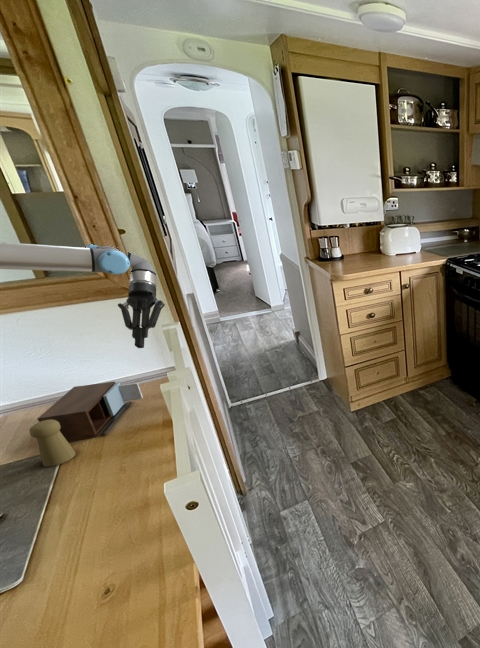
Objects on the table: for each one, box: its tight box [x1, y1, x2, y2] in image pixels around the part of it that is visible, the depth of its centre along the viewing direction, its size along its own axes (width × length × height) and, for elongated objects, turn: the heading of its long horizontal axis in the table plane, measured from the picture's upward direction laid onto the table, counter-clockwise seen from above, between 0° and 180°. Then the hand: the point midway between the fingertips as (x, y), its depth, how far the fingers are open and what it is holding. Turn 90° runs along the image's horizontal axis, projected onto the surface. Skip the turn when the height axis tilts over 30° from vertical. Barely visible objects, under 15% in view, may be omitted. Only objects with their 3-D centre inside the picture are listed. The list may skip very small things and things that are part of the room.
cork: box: [29, 420, 76, 468], centre depth 95 cm, size 6×6×11 cm
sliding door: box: [103, 381, 144, 417], centre depth 117 cm, size 6×9×7 cm, turn 21°
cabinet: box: [37, 381, 132, 443], centre depth 111 cm, size 12×18×8 cm
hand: (139, 346), depth 127 cm, fingers closed
